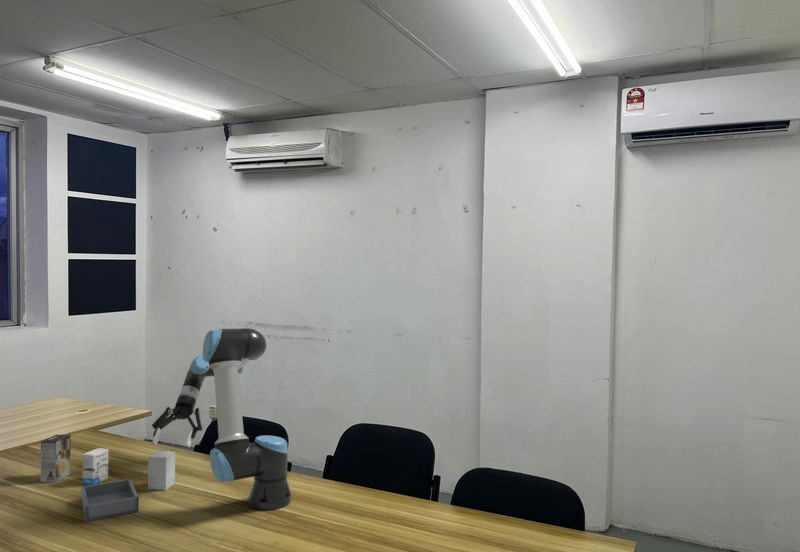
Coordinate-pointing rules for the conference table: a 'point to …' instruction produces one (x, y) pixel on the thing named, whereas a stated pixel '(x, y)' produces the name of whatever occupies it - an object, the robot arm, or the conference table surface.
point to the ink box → (95, 466)
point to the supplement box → (161, 470)
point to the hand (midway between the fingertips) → (170, 445)
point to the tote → (109, 500)
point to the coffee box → (55, 458)
